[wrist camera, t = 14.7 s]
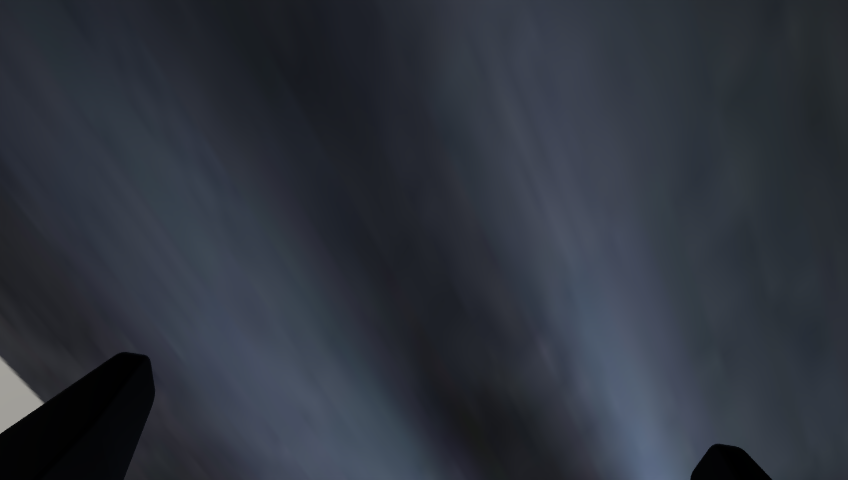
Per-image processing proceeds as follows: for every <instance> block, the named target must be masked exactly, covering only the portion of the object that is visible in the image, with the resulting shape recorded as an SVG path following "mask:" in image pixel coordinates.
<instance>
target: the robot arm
mask: <svg viewBox="0 0 848 480" xmlns="http://www.w3.org/2000/svg"><path fill="white" fill-rule="evenodd" d="M154 397H155V386H154V380H153V373H152V367H151V361H150V359H149V357H148V356H146V355H142V354H136V353H130V352H121V353H119V354H116V355H115V356H113V357H112V358H110V359H109V360H107V361H106V362H105V363H103V364H102V365H100V366H99V367H97V368H96V369H94V370H93V371H91V372H90V373H88V374H87V375H85V376H84V377H83V378H81V379H80V380H78V381H77V382H75V383H74V384H72V385H71V386H69V387H68V388H66V389H65V390H64V391H62V392H61V393H59V394H58V395H56V396H55V397H53V398H52V399H50V400H49V401H47V402H46V403H45V404H43V405H42V406H40V407H39V408H37V409H36V410H34V411H33V412H31V413H30V414H28V415H27V416H26V417H24V418H23V419H21V420H20V421H18V422H17V423H15V424H14V425H12V426H11V427H9V428H8V429H6V430H5V431H4V432H2V433H1V434H0V480H124V477H125V475H126V472H127V470H128V467H129V465H130V462H131V459H132V457H133V454H134V452H135V449H136V446H137V444H138V441H139V439H140V436H141V434H142V431H143V428H144V426H145V423H146V421H147V418H148V415H149V413H150V410H151V408H152V405H153V402H154ZM690 480H772V479H771V478H770V477H769V476H768V475H767V474H766V473H765V472H764V471H763V469H762V468H761V467H760V466H759V465H758V464H757V463H756V462H755V461H754V460H753V459H752V458H751V457H750V456H749V455H748V454H747V453H746V452H745V451H744V450H743V449H741V448H739V447H736V446H730V445H724V444H714V445H712V446H711V447H710V448H709V449H708V451H707V452H706V454H705V455H704V456H703V458H702V459H701V460H700V462H699V463H698V465H697V466H696V467H695V469H694V470H693V472H692V475H691V479H690Z"/></svg>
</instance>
